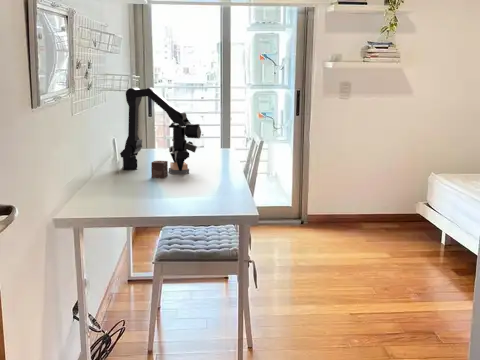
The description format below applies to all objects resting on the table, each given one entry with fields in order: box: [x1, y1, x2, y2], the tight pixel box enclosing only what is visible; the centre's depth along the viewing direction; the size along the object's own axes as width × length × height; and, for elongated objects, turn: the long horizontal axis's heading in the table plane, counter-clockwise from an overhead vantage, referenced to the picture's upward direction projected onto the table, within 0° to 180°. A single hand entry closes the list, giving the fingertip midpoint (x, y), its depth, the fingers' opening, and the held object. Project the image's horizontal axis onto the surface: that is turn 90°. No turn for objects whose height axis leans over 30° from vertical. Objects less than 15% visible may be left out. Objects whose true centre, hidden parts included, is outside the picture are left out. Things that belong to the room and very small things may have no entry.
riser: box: [168, 167, 190, 175], centre depth 262 cm, size 9×5×2 cm, turn 108°
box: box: [150, 160, 169, 179], centre depth 250 cm, size 6×6×7 cm
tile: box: [169, 161, 189, 170], centre depth 262 cm, size 7×7×2 cm
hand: (178, 169), depth 262 cm, fingers closed on tile, 7 cm apart
